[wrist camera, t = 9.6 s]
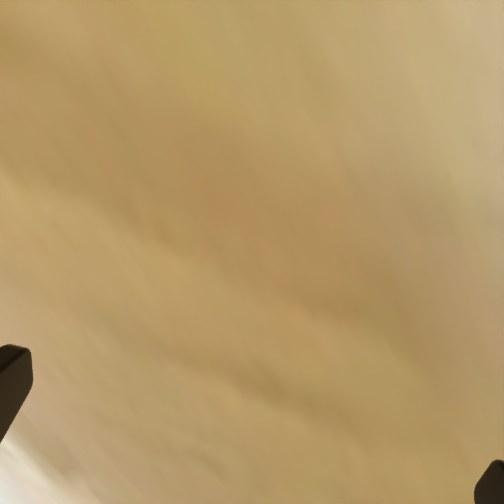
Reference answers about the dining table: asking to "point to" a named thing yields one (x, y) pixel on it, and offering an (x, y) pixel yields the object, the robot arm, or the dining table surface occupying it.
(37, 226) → the dining table surface
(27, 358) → the robot arm
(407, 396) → the dining table surface
